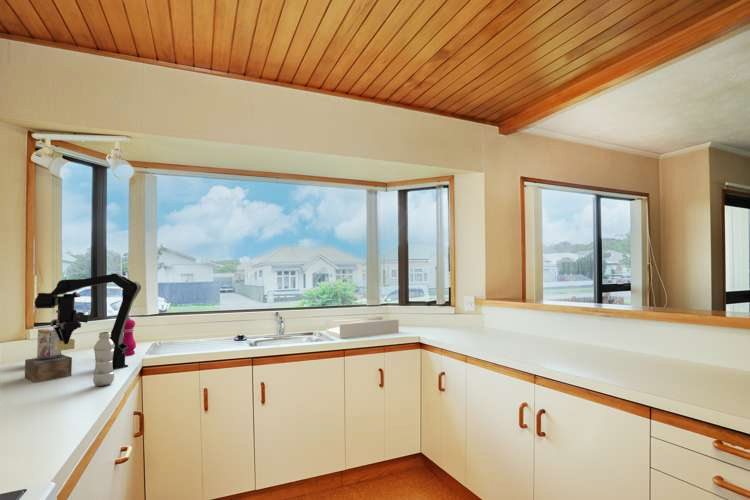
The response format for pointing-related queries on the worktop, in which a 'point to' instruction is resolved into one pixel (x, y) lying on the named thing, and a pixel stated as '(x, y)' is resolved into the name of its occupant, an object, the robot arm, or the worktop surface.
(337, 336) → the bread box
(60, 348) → the olive yellow block
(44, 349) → the candy bar box
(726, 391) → the worktop surface
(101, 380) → the plastic bottle
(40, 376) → the box
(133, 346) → the pepper mill
